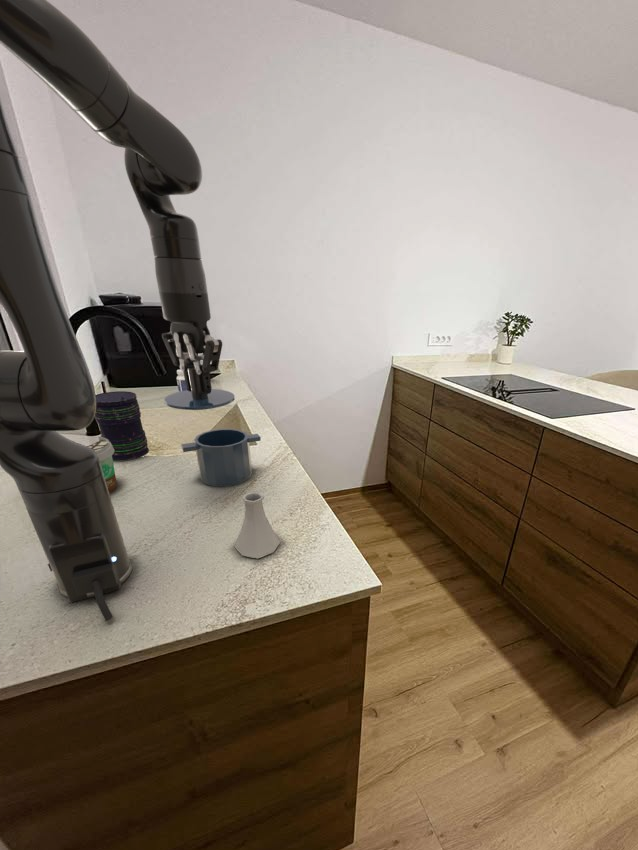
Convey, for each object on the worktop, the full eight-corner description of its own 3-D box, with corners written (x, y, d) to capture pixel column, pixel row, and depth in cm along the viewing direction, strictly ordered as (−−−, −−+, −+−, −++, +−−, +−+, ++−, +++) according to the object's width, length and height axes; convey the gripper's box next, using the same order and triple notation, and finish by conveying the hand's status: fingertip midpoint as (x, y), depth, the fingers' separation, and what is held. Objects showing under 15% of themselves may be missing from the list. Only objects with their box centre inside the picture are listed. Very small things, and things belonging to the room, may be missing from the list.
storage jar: (96, 456, 97) (79, 398, 90) (130, 443, 105) (116, 389, 99) (125, 464, 94) (109, 404, 87) (158, 450, 102) (145, 394, 96)
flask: (257, 564, 63) (252, 513, 58) (227, 549, 66) (220, 499, 62) (287, 543, 69) (284, 494, 64) (258, 529, 72) (253, 482, 67)
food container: (92, 507, 76) (77, 461, 72) (65, 503, 77) (49, 458, 73) (136, 480, 87) (125, 438, 82) (112, 476, 88) (100, 435, 83)
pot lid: (242, 408, 71) (238, 372, 68) (168, 416, 66) (161, 377, 63) (227, 391, 81) (223, 359, 78) (162, 397, 75) (155, 363, 72)
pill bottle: (198, 395, 150) (194, 369, 146) (189, 399, 145) (185, 372, 141) (185, 393, 151) (181, 368, 147) (176, 397, 146) (171, 370, 142)
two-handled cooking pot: (268, 478, 90) (265, 440, 86) (192, 493, 83) (184, 452, 79) (255, 460, 99) (252, 424, 95) (185, 472, 92) (178, 434, 87)
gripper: (136, 287, 65) (157, 390, 73) (191, 292, 58) (208, 403, 66) (176, 287, 70) (191, 382, 78) (230, 292, 64) (241, 394, 72)
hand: (199, 391), depth 72 cm, fingers closed on pot lid, 3 cm apart
